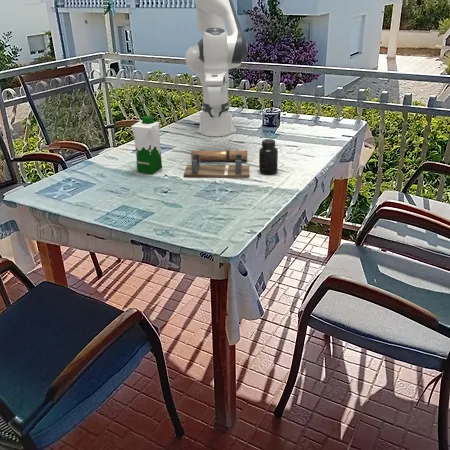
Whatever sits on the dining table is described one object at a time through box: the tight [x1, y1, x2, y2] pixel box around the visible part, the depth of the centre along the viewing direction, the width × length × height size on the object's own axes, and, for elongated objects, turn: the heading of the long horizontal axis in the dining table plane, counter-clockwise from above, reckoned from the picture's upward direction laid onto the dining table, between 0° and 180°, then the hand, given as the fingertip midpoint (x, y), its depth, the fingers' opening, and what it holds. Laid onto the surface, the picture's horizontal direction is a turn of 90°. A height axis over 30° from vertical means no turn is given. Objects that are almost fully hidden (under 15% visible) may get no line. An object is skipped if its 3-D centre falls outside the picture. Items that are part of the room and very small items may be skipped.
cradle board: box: [183, 164, 251, 179], centre depth 178 cm, size 10×24×1 cm, turn 87°
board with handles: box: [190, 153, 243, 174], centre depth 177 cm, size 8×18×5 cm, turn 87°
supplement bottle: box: [258, 138, 279, 176], centre depth 176 cm, size 7×7×12 cm
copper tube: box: [190, 150, 248, 162], centre depth 189 cm, size 22×4×4 cm, turn 87°
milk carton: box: [130, 115, 163, 175], centre depth 177 cm, size 9×9×20 cm
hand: (217, 114), depth 180 cm, fingers open, 8 cm apart
